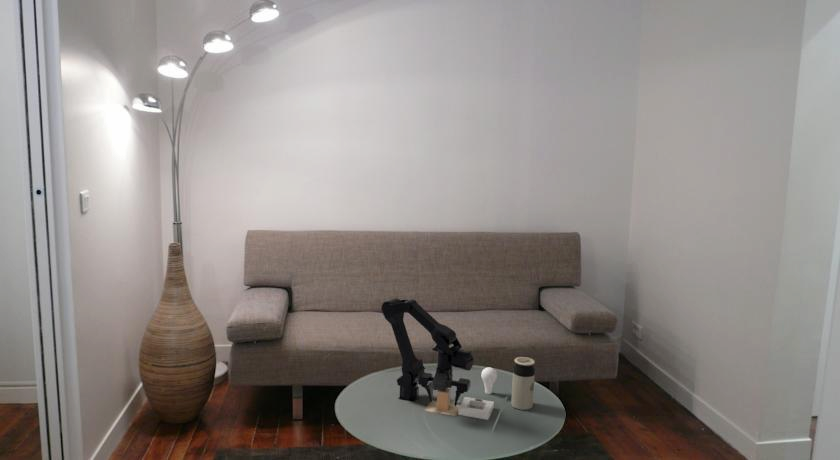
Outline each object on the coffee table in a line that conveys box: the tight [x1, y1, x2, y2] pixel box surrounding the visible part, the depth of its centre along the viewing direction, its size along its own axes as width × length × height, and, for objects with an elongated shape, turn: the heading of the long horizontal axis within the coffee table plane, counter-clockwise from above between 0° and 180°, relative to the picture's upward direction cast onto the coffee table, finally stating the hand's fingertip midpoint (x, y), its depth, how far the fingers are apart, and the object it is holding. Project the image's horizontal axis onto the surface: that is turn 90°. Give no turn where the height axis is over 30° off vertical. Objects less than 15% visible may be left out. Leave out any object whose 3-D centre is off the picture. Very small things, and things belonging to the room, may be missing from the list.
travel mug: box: [510, 356, 536, 411], centre depth 226 cm, size 8×8×18 cm
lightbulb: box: [480, 366, 498, 395], centre depth 236 cm, size 6×6×11 cm
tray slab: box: [423, 399, 461, 417], centre depth 223 cm, size 12×9×1 cm
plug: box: [436, 388, 452, 411], centre depth 222 cm, size 4×4×7 cm
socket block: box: [457, 396, 495, 421], centre depth 221 cm, size 11×10×4 cm
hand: (443, 403), depth 222 cm, fingers open, 9 cm apart
